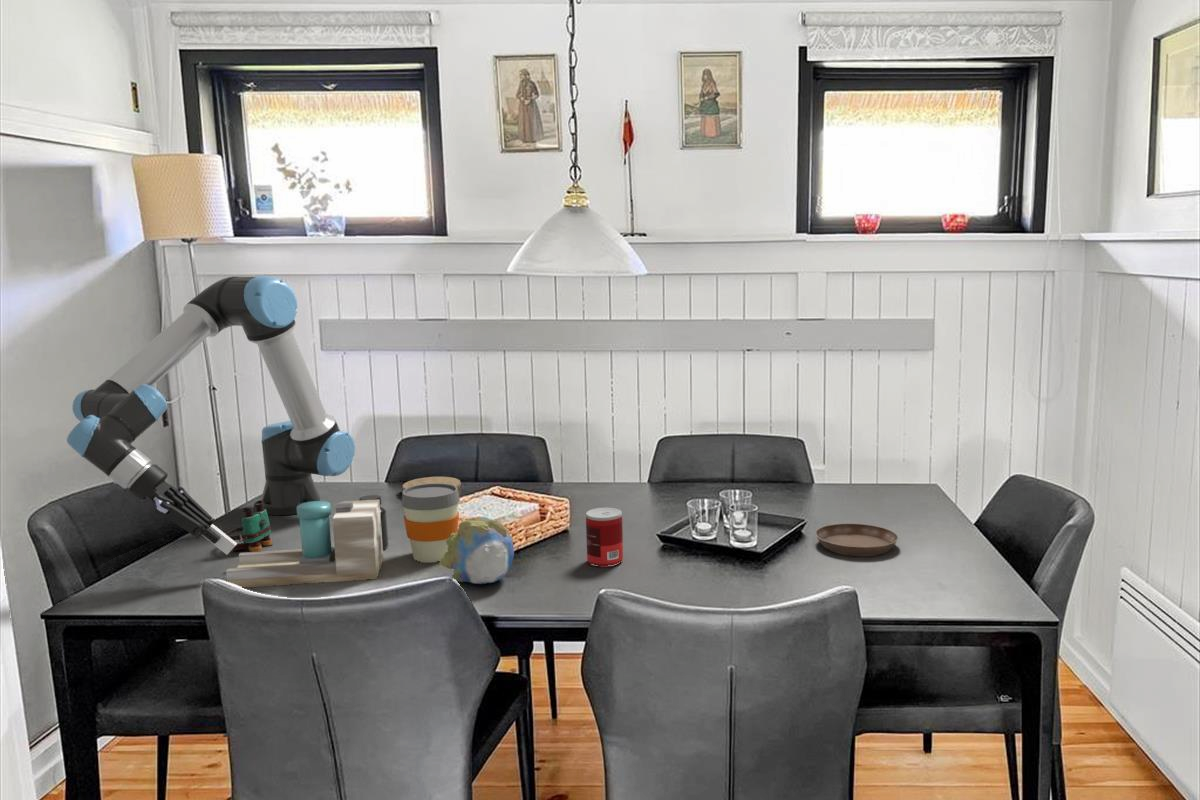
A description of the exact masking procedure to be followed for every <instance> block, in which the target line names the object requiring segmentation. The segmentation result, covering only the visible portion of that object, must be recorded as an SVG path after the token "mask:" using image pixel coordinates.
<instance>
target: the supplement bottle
mask: <svg viewBox="0 0 1200 800" xmlns="http://www.w3.org/2000/svg"><path fill="white" fill-rule="evenodd" d="M358 499H359V500H358V501H361V500H379V499H380V515H381V530H382V545H383V551H384V550H386V549H388V547H389V543H390V542H389V528H388V526H389V525H388V513H387V510H386V509H385V507H383V506H382V504H383V503H382V496H381V495H378V494H369V495H368V494H366V495H364V496H361V497H359V498H358Z"/></svg>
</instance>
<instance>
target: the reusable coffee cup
mask: <svg viewBox="0 0 1200 800" xmlns="http://www.w3.org/2000/svg"><path fill="white" fill-rule="evenodd" d="M459 503H460V494H459V493H458V488H457V487H456V486H454V485H451V484H443V483H431V484H421V485H416V486H412V487H409V488H406V489H405V490H403V489H402V494H401V506H402V507H403V511H404V515H403V520H404V525H405V530H406V531H405V532H406V537H407V538H408V539H409V543H410V547H411V551H412V552H411V553H412V557H413V559H414V561H416V560H417V562H419V561H420V562H419V563H438V562H437V561H440V558H442V557H444V554H445V552H448V547H449V546H448V545H447V543H446V540H447V539H448V538H449V537H450V535H451V534H452V533H456V532H457V530H458V528H459V519H460V512H459V511H458V508H459V507H458V506H459Z"/></svg>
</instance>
